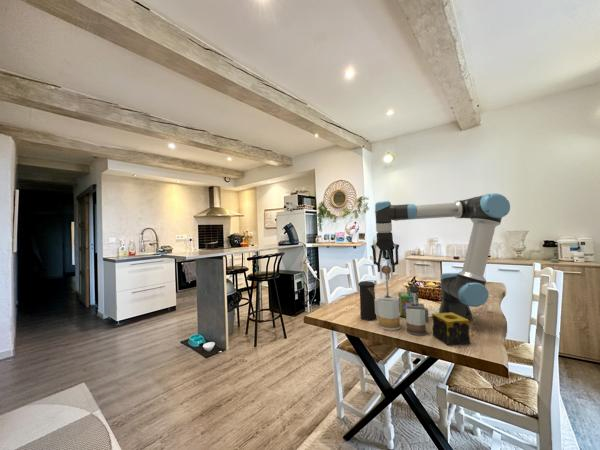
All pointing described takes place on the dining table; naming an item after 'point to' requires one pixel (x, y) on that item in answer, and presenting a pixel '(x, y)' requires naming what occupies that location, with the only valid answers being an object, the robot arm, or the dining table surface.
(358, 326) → the dining table surface
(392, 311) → the press large
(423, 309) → the press small
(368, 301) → the container
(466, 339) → the dark box with hole
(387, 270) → the plunger large
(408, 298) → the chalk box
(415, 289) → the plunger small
